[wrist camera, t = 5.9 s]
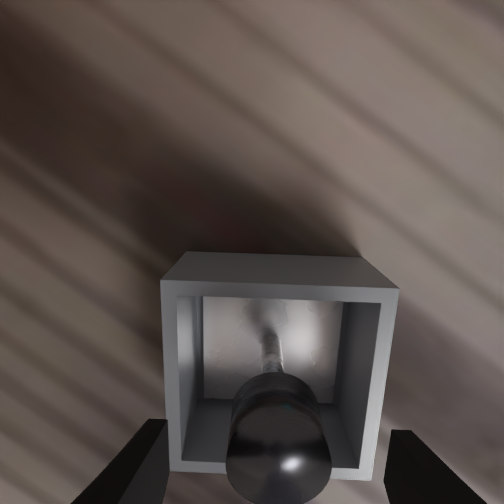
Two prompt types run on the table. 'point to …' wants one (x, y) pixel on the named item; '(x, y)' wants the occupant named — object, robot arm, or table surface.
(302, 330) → the plunger
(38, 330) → the table surface
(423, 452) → the robot arm
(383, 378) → the press housing
